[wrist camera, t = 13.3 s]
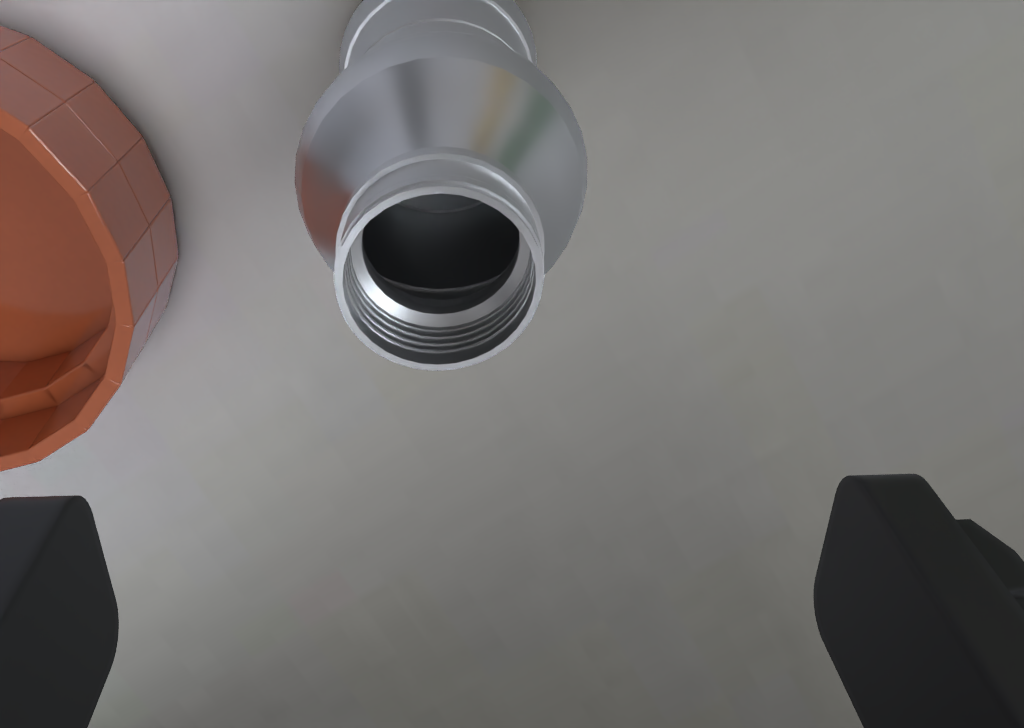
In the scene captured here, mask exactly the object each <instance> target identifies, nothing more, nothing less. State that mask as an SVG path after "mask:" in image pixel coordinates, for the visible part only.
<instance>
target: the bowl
mask: <svg viewBox="0 0 1024 728" xmlns="http://www.w3.org/2000/svg"><path fill="white" fill-rule="evenodd" d="M177 262H178V248H177V239H176V231H175V223H174V215H173V207H172V200H171V198H170V194H169V192H168V189H167V187H166V185H165V183H164V181H163V179H162V177H161V174H160V172H159V170H158V168H157V166H156V164H155V161H154V159H153V157H152V155H151V153H150V151H149V149H148V146H147V144H146V142H145V140H144V139H143V138H142V135H141V134H140V133H139V132H138V130H137V129H136V128H135V127H134V126H133V125H132V123H131V122H130V121H129V120H128V119H127V118H126V116H125V115H124V114H123V113H122V112H121V111H120V109H119V108H118V107H117V106H116V105H115V104H114V103H113V101H112V100H111V99H110V98H109V97H108V96H107V94H106V93H105V92H104V91H103V90H102V89H101V87H100V86H99V85H98V84H97V83H96V82H94V80H93V79H92V78H90V77H89V76H87V75H86V74H84V73H83V72H82V71H80V70H79V69H77V68H76V67H74V66H73V65H71V64H70V63H68V62H67V61H66V60H64V59H63V58H61V57H60V56H58V55H57V54H55V53H54V52H53V51H51V50H50V49H48V48H47V47H45V46H44V45H42V44H41V43H39V42H38V41H37V40H35V39H34V38H32V37H29V36H28V35H25V34H22V33H20V32H17V31H14V30H11V29H9V28H6V27H3V26H0V471H4V470H8V469H12V468H16V467H20V466H24V465H27V464H31V463H35V462H38V461H41V460H42V459H44V458H45V457H47V456H49V455H50V454H52V453H53V452H55V451H56V450H58V449H59V448H61V447H63V446H64V445H66V444H67V443H69V442H70V441H72V440H74V439H75V438H77V437H78V436H80V435H81V434H83V433H85V432H86V431H87V430H88V429H89V428H90V427H91V426H92V424H93V423H94V421H95V420H96V419H97V417H98V416H99V415H100V413H101V412H102V410H103V409H104V408H105V406H106V405H107V403H108V402H109V401H110V399H111V398H112V397H113V395H114V394H115V392H116V391H117V390H118V388H119V387H120V385H121V384H122V382H123V380H124V379H125V377H126V375H127V374H128V372H129V370H130V369H131V367H132V365H133V363H134V362H135V360H136V358H137V357H138V355H139V353H140V352H141V350H142V348H143V346H144V345H145V343H146V341H147V340H148V338H149V336H150V335H151V333H152V331H153V329H154V328H155V326H156V324H157V323H158V321H159V319H160V318H161V316H162V314H163V312H164V311H165V309H166V307H167V303H168V299H169V295H170V291H171V287H172V282H173V278H174V274H175V270H176V266H177Z"/></svg>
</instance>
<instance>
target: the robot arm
mask: <svg viewBox="0 0 1024 728" xmlns="http://www.w3.org/2000/svg"><path fill="white" fill-rule="evenodd" d="M814 609H815V616H816V621H817V625H818V629H819V632H820V635H821V638H822V640H823V642H824V644H825V647H826V649H827V651H828V653H829V655H830V657H831V659H832V661H833V663H834V666H835V668H836V670H837V672H838V674H839V676H840V678H841V680H842V682H843V685H844V687H845V689H846V691H847V693H848V695H849V697H850V699H851V701H852V704H853V706H854V708H855V710H856V712H857V714H858V716H859V718H860V720H861V723H862V725H863V727H864V728H1024V562H1023V560H1022V559H1021V558H1020V557H1019V555H1018V554H1017V553H1016V552H1015V551H1014V550H1013V549H1011V548H1010V547H1009V546H1007V545H1006V544H1004V543H1003V542H1002V541H1000V540H999V539H997V538H996V537H995V536H993V535H992V534H990V533H989V532H988V531H986V530H985V529H983V528H982V527H981V526H979V525H978V524H976V523H975V522H974V521H972V520H971V519H964V520H955V518H954V517H953V516H952V514H951V513H950V512H949V510H948V509H947V508H946V506H945V505H944V504H943V502H942V501H941V500H940V498H939V497H938V496H937V494H936V493H935V492H934V490H933V489H932V488H931V486H930V485H929V484H928V483H927V481H926V480H925V479H924V478H922V477H921V476H919V475H917V474H890V475H855V476H846V477H845V478H843V479H842V480H841V482H840V483H839V485H838V488H837V491H836V494H835V498H834V502H833V506H832V511H831V515H830V519H829V523H828V527H827V532H826V536H825V540H824V544H823V548H822V552H821V557H820V561H819V565H818V569H817V573H816V577H815V583H814ZM118 629H119V620H118V608H117V603H116V599H115V595H114V591H113V588H112V584H111V580H110V576H109V573H108V569H107V565H106V562H105V558H104V554H103V551H102V547H101V543H100V540H99V536H98V532H97V528H96V525H95V521H94V517H93V514H92V511H91V508H90V506H89V504H88V502H87V501H86V499H84V498H83V497H82V496H45V497H10V498H3V499H1V500H0V728H87V727H88V725H89V722H90V720H91V717H92V715H93V712H94V709H95V707H96V704H97V702H98V699H99V697H100V694H101V692H102V689H103V687H104V684H105V682H106V679H107V677H108V674H109V672H110V669H111V666H112V664H113V661H114V657H115V653H116V647H117V641H118Z"/></svg>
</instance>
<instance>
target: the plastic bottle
mask: <svg viewBox="0 0 1024 728" xmlns="http://www.w3.org/2000/svg"><path fill="white" fill-rule="evenodd" d="M339 72H340V74H339V75H338V76H337V78H336V79H335V80H334V81H333V82H332V84H331V85H330V86H329V87H328V89H327V90H326V91H325V92H324V93H323V95H322V96H321V97H320V99H319V100H318V101H317V102H316V104H315V106H314V108H313V110H312V112H311V114H310V116H309V118H308V120H307V122H306V124H305V126H304V128H303V131H302V135H301V138H300V142H299V146H298V149H297V153H296V165H295V188H296V194H297V200H298V206H299V210H300V213H301V216H302V218H303V221H304V223H305V226H306V228H307V231H308V234H309V236H310V237H311V239H312V241H313V243H314V245H315V246H316V248H317V249H318V251H319V252H320V254H321V256H322V257H323V259H324V260H325V262H326V263H327V265H328V266H329V267H330V268H331V269H332V270H333V272H334V284H335V291H336V297H337V302H338V305H339V307H340V310H341V313H342V315H343V318H344V319H345V321H346V322H347V324H348V326H349V327H350V329H351V330H352V332H353V333H354V334H355V335H356V336H357V337H358V338H359V339H360V340H361V341H362V342H363V343H364V344H365V345H366V346H367V347H368V348H370V349H371V350H373V351H374V352H376V353H377V354H379V355H380V356H381V357H383V358H386V359H388V360H390V361H392V362H395V363H397V364H399V365H403V366H407V367H411V368H415V369H420V370H433V371H441V370H452V369H459V368H463V367H467V366H471V365H475V364H477V363H480V362H482V361H484V360H486V359H489V358H491V357H493V356H495V355H496V354H498V353H499V352H500V351H502V350H503V349H505V348H506V347H508V346H509V345H510V344H511V343H512V342H513V341H514V340H515V339H516V338H517V337H518V336H519V335H520V334H521V333H522V332H523V331H524V330H525V328H526V327H527V325H528V324H529V322H530V321H531V319H532V318H533V316H534V313H535V311H536V309H537V306H538V304H539V302H540V297H541V293H542V288H543V283H544V275H545V274H546V273H547V272H548V271H549V270H550V269H551V268H552V267H553V265H554V264H555V262H556V261H557V259H558V258H559V256H560V255H561V253H562V252H563V250H564V249H565V248H566V246H567V244H568V242H569V239H570V237H571V235H572V233H573V230H574V228H575V226H576V223H577V221H578V219H579V216H580V214H581V212H582V208H583V203H584V198H585V193H586V189H587V154H586V149H585V145H584V140H583V136H582V131H581V129H580V127H579V125H578V122H577V120H576V118H575V116H574V113H573V111H572V109H571V107H570V105H569V104H568V102H567V101H566V100H565V98H564V97H563V96H562V94H561V93H560V92H559V90H558V89H557V87H556V86H555V85H554V83H553V82H552V81H551V80H550V79H549V78H548V77H547V76H546V75H545V74H544V73H543V72H542V71H541V70H539V69H538V68H537V54H536V47H535V43H534V39H533V34H532V31H531V29H530V27H529V25H528V22H527V20H526V18H525V16H524V14H523V13H522V11H521V10H520V8H519V7H518V6H517V4H516V3H515V1H514V0H363V1H362V2H361V4H360V5H359V6H358V7H357V9H356V10H355V11H354V13H353V15H352V17H351V19H350V21H349V23H348V25H347V27H346V29H345V32H344V36H343V40H342V43H341V47H340V59H339Z"/></svg>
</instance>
